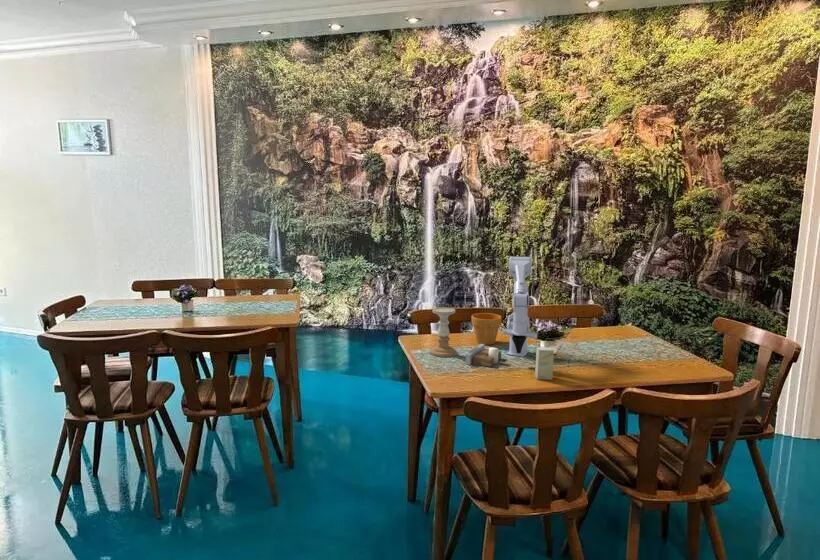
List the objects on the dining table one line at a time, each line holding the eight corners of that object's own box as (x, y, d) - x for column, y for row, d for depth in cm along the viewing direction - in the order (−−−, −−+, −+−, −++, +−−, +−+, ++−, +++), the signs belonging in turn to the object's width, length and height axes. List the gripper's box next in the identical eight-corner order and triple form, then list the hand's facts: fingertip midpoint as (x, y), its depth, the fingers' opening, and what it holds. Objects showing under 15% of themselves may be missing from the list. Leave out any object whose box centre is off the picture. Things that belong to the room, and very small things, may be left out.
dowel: (489, 360, 258) (490, 347, 257) (498, 361, 257) (499, 348, 256) (487, 362, 255) (487, 349, 254) (496, 364, 253) (496, 350, 252)
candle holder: (435, 358, 261) (435, 313, 257) (425, 350, 272) (426, 307, 269) (461, 355, 265) (462, 311, 261) (450, 348, 276) (451, 306, 273)
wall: (480, 353, 268) (480, 343, 268) (484, 353, 267) (484, 344, 267) (465, 364, 252) (465, 354, 252) (469, 365, 252) (470, 354, 251)
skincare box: (537, 379, 234) (538, 350, 232) (534, 376, 238) (535, 346, 236) (553, 379, 234) (554, 350, 232) (550, 376, 238) (551, 346, 236)
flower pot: (474, 337, 295) (474, 311, 293) (502, 339, 291) (503, 314, 289) (468, 344, 282) (468, 318, 280) (497, 347, 278) (498, 320, 275)
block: (484, 355, 265) (484, 348, 264) (501, 357, 261) (501, 351, 261) (472, 363, 253) (472, 357, 252) (490, 366, 249) (490, 359, 249)
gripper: (500, 321, 248) (499, 352, 251) (534, 325, 242) (533, 357, 244) (505, 317, 254) (504, 348, 257) (539, 321, 248) (537, 353, 250)
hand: (518, 352), depth 251 cm, fingers closed
